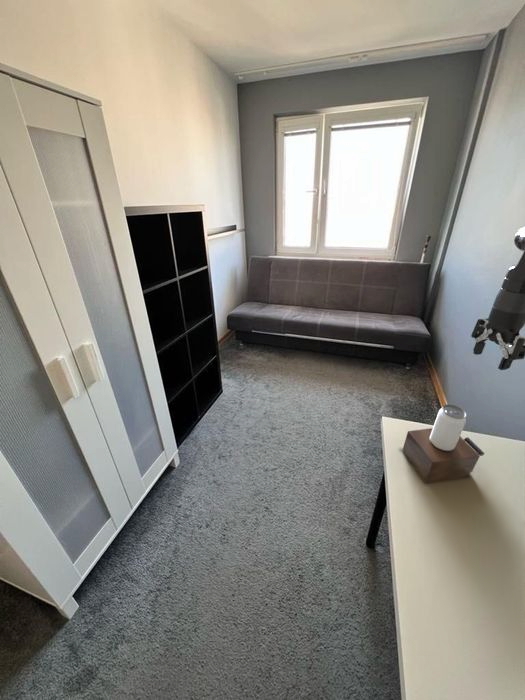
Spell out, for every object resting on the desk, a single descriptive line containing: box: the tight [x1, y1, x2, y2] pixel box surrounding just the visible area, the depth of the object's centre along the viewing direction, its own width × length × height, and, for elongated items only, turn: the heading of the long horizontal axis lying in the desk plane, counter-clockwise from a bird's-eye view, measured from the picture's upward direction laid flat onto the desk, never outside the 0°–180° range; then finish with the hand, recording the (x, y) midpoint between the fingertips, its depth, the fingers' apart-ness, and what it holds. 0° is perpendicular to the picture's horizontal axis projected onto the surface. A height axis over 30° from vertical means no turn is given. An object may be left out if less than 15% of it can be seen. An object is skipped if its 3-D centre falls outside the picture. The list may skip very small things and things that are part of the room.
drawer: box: [460, 435, 485, 473], centre depth 83 cm, size 17×10×7 cm, turn 97°
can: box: [430, 404, 467, 451], centre depth 78 cm, size 6×6×12 cm
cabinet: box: [401, 427, 480, 483], centre depth 83 cm, size 14×12×9 cm
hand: (489, 361), depth 79 cm, fingers open, 8 cm apart
